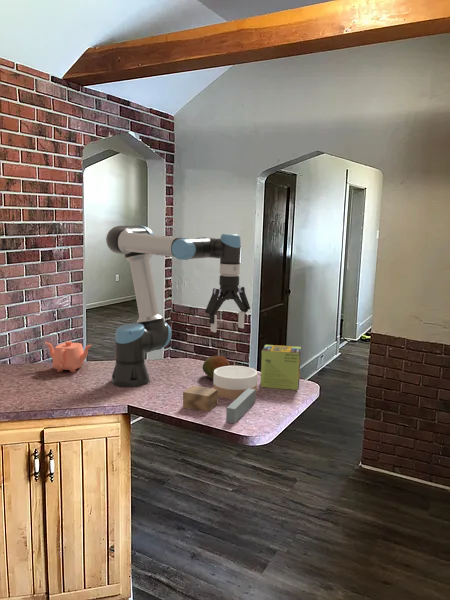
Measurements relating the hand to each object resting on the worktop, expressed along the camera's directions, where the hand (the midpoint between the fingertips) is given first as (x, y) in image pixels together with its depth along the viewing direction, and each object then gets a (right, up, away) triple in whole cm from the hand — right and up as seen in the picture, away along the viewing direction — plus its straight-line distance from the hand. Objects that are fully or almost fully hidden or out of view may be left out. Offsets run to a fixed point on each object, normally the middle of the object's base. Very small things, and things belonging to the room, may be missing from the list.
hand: (227, 329), depth 199 cm
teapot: (-70, -19, +30) cm, 79 cm away
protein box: (+22, -24, +14) cm, 35 cm away
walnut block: (-10, -27, -12) cm, 31 cm away
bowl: (+3, -25, +5) cm, 26 cm away
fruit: (-5, -22, +21) cm, 31 cm away
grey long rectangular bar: (+5, -28, -16) cm, 33 cm away
